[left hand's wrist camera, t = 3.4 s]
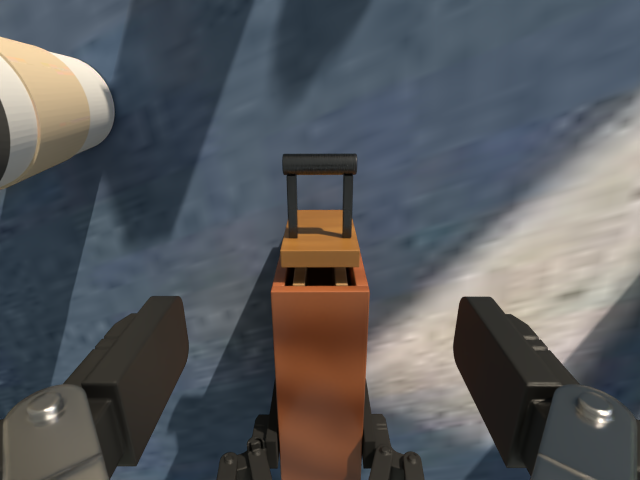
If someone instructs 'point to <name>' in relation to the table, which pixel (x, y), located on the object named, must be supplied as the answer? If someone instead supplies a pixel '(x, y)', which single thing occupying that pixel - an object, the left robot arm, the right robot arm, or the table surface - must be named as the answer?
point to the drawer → (320, 224)
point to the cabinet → (320, 374)
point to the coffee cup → (47, 110)
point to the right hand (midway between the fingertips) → (320, 390)
